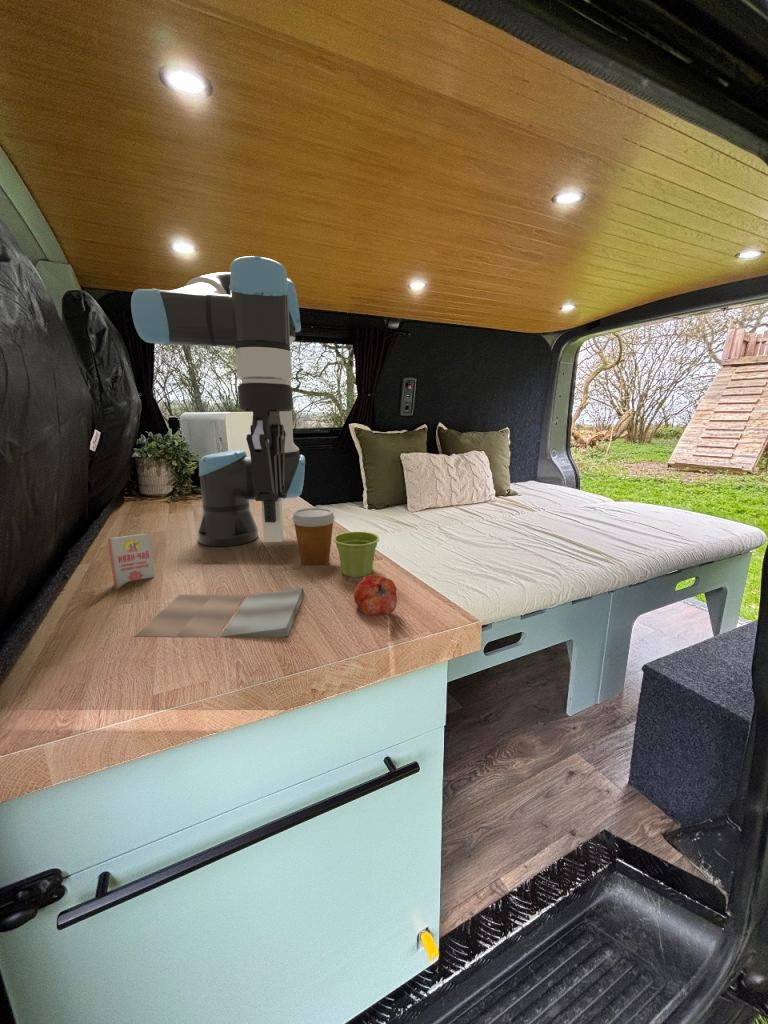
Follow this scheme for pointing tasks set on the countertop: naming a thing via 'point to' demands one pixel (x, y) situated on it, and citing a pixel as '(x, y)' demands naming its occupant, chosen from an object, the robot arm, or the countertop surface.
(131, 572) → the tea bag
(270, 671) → the countertop surface
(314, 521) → the disposable coffee cup
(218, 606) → the floorboard
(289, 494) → the robot arm
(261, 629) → the grey flat slab
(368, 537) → the plant pot
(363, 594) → the pomegranate
